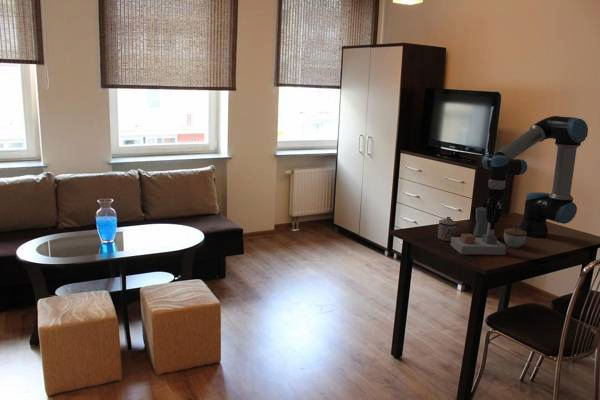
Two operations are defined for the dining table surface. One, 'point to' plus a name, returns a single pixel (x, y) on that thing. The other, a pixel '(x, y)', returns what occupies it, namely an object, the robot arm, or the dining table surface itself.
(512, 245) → the lidded jar
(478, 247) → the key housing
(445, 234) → the teacup with lid
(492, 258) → the dining table surface
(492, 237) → the grey key
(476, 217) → the coffee maker
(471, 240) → the terracotta key
